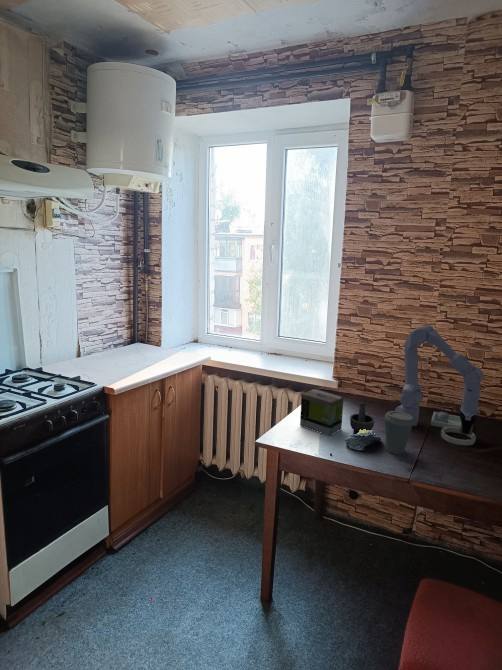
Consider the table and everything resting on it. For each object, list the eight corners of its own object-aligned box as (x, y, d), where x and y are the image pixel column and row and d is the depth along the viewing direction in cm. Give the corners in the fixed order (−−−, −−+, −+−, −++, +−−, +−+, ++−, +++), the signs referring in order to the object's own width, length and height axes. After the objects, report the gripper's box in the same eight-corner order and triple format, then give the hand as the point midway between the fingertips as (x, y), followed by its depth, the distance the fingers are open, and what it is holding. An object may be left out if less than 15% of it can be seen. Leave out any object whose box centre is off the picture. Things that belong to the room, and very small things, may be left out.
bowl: (456, 449, 172) (457, 442, 172) (434, 435, 184) (435, 428, 183) (481, 445, 176) (482, 438, 176) (458, 432, 188) (459, 425, 187)
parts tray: (430, 427, 192) (431, 420, 191) (433, 417, 202) (433, 411, 201) (467, 434, 185) (468, 428, 185) (468, 424, 195) (469, 418, 195)
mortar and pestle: (373, 440, 178) (375, 412, 175) (349, 437, 180) (351, 410, 177) (371, 428, 189) (374, 402, 186) (349, 426, 191) (351, 399, 188)
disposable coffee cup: (386, 441, 177) (390, 406, 174) (414, 449, 171) (418, 413, 168) (377, 451, 169) (381, 414, 165) (405, 460, 163) (410, 422, 159)
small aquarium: (342, 429, 187) (344, 396, 184) (329, 437, 180) (331, 403, 176) (312, 419, 197) (314, 387, 194) (299, 426, 190) (300, 393, 186)
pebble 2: (465, 435, 175) (466, 425, 174) (457, 430, 179) (458, 421, 178) (474, 434, 177) (475, 424, 176) (466, 429, 181) (467, 420, 180)
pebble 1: (441, 424, 192) (443, 416, 191) (434, 420, 196) (436, 412, 195) (450, 423, 193) (451, 415, 192) (443, 419, 197) (444, 411, 196)
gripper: (481, 406, 167) (476, 440, 170) (481, 395, 179) (477, 426, 182) (461, 403, 170) (456, 436, 173) (462, 391, 182) (458, 422, 186)
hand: (465, 430), depth 178 cm, fingers closed on pebble 2, 4 cm apart
